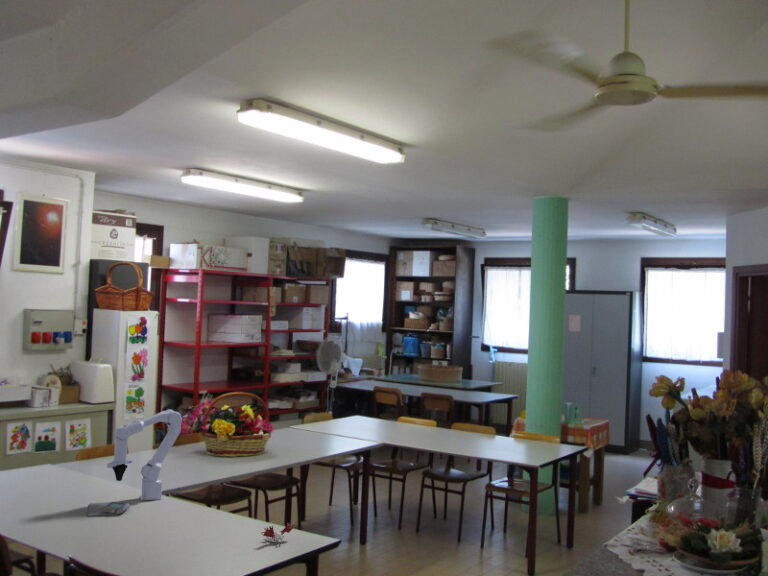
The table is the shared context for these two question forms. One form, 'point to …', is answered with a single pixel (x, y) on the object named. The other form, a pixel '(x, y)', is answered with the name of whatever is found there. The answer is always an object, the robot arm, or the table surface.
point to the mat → (98, 509)
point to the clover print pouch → (116, 507)
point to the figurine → (276, 535)
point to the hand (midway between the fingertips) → (118, 480)
